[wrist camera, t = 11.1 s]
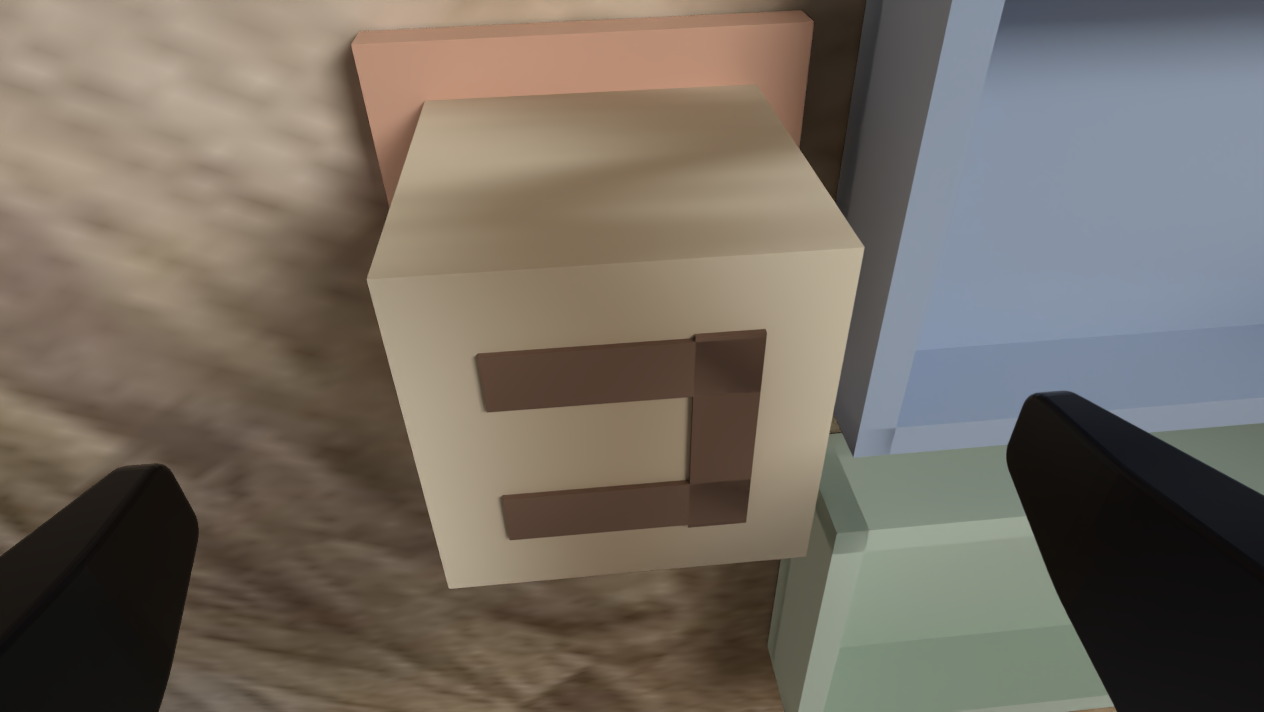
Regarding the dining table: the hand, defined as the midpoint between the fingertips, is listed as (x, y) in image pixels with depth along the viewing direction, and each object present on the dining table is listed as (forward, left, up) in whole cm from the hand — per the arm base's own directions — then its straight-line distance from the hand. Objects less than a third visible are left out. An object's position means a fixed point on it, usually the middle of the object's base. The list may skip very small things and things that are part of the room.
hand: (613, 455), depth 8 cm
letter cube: (0, 0, -5) cm, 5 cm away
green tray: (-11, +9, -5) cm, 15 cm away
